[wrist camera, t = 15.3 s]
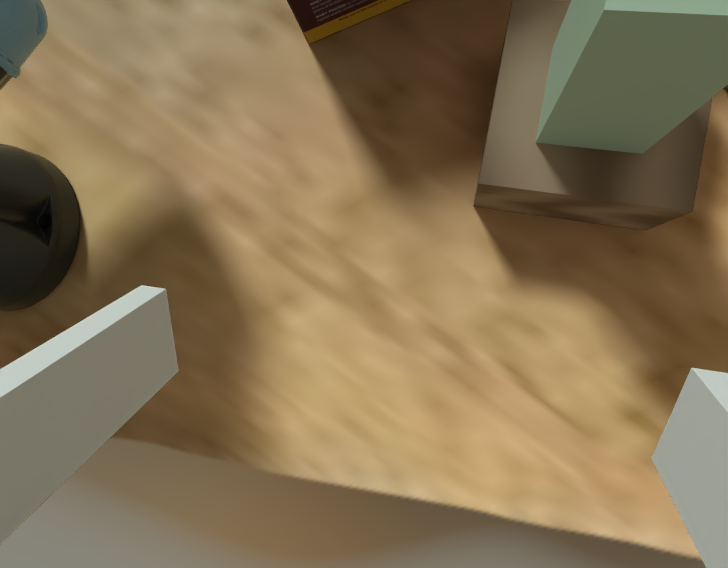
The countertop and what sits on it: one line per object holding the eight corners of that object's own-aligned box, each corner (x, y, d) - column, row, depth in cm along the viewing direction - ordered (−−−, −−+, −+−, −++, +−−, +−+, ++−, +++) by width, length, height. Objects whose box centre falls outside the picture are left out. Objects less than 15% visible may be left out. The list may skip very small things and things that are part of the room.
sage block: (535, 142, 27) (604, 9, 15) (552, 47, 27) (633, -158, 15) (642, 153, 25) (808, 19, 14) (659, 54, 26) (838, -163, 14)
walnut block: (473, 206, 33) (478, 183, 27) (501, 53, 33) (513, -2, 27) (645, 230, 31) (692, 211, 25) (674, 65, 31) (727, 7, 25)
